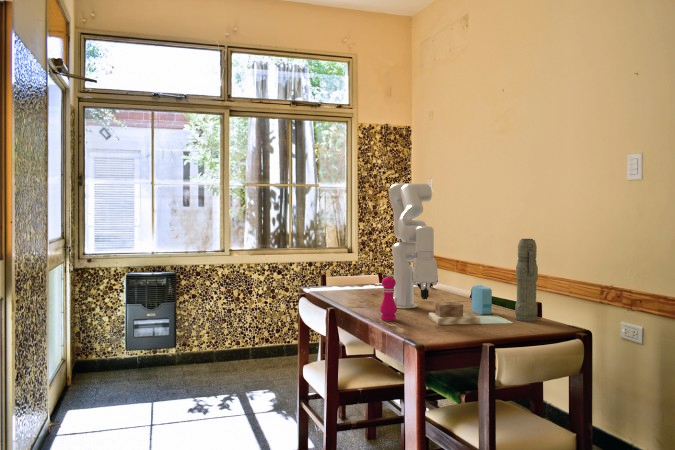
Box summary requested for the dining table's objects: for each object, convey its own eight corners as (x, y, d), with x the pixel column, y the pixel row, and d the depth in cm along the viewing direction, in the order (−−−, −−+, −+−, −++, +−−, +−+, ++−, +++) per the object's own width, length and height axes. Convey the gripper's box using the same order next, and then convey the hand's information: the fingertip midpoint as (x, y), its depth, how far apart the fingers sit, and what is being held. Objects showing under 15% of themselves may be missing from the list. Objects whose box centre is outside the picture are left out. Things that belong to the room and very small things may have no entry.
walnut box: (439, 316, 228) (439, 305, 228) (435, 314, 234) (435, 302, 234) (463, 316, 229) (463, 304, 229) (458, 313, 236) (458, 302, 235)
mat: (480, 324, 226) (480, 323, 226) (467, 317, 241) (467, 316, 241) (512, 323, 228) (512, 322, 228) (498, 316, 242) (498, 315, 242)
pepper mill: (398, 318, 237) (398, 272, 237) (394, 321, 230) (395, 274, 230) (382, 317, 240) (382, 271, 239) (378, 320, 233) (378, 273, 232)
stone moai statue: (523, 323, 229) (524, 239, 228) (510, 317, 240) (511, 238, 239) (542, 322, 230) (544, 239, 229) (529, 317, 242) (530, 238, 241)
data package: (491, 315, 246) (492, 288, 246) (482, 315, 245) (482, 288, 245) (480, 310, 258) (480, 285, 257) (471, 310, 257) (471, 285, 257)
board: (437, 324, 225) (437, 318, 225) (428, 318, 238) (428, 312, 238) (479, 323, 227) (479, 317, 227) (468, 317, 240) (468, 311, 240)
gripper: (409, 256, 225) (409, 300, 225) (444, 255, 227) (444, 300, 227) (405, 255, 233) (405, 298, 233) (439, 254, 234) (439, 297, 234)
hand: (424, 298), depth 230 cm, fingers closed
